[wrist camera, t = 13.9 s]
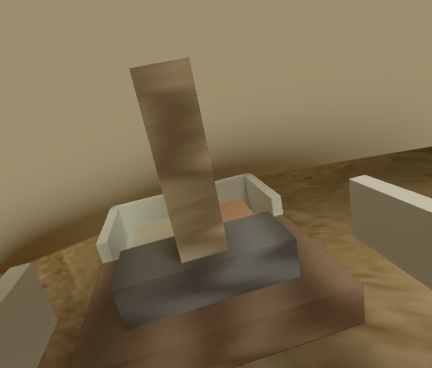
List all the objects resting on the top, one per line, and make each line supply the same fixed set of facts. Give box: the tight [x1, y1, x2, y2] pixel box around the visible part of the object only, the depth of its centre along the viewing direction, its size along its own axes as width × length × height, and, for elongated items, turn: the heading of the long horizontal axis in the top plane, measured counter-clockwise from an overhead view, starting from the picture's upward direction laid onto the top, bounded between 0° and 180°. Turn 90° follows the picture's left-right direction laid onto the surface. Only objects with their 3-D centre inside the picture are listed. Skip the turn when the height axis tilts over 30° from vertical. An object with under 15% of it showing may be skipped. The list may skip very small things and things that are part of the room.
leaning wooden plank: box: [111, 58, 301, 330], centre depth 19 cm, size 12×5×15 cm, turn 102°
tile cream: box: [132, 217, 174, 248], centre depth 30 cm, size 5×5×3 cm
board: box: [70, 214, 365, 368], centre depth 23 cm, size 18×12×3 cm, turn 102°
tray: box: [96, 173, 283, 263], centre depth 33 cm, size 18×10×5 cm, turn 102°
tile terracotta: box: [219, 198, 254, 223], centre depth 31 cm, size 5×5×3 cm
